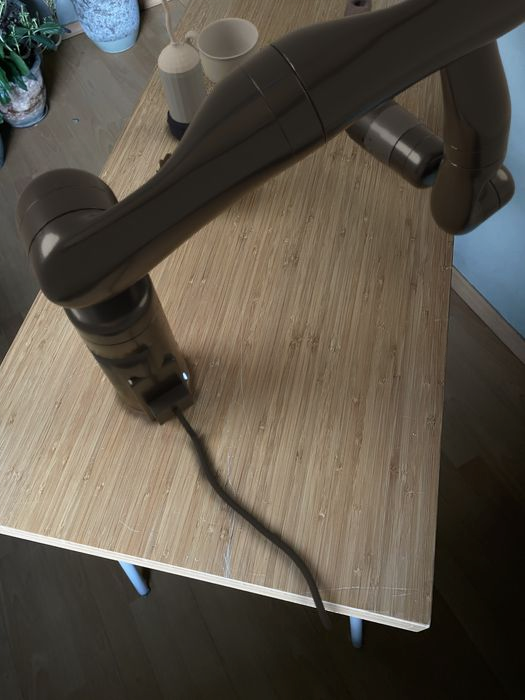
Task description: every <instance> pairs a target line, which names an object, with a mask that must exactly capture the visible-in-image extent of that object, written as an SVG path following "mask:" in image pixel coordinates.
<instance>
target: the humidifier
mask: <svg viewBox="0 0 525 700" xmlns="http://www.w3.org/2000/svg"><path fill="white" fill-rule="evenodd" d="M160 1H161V4H162V7H163V9H164V11H165V12H164V13H165V26H166V31H167V33H168V37H169V39H170V43H169V44H167V46H165V47H164V48H163V49H162V50H161V52H160V54H159V56H158V59H157V66H158V72H159V77H160V80H161V84H162V88H163V91H164V92H163V93H164V97H165V100H166V104H167V108H168V110H167V112H166V122H167V124H168V128H169V131H170V134H171V135H172V137H173V138H175V139H176V140H177V141H181V139H182V137H183V135H184V133H185V132H186V130H187V128H188V126H189V124H190V123H191V121H192V119H193V117H194V116H195V114H196V112H197V111H198V109H199V108H200V106H201V104H202V103H203V101H204V100H205V98H206V97H207V95H208V93H207V87H206V81H205V76H204V69H203V66H202V62H201V60H200V57H199V54H198V53H197V51H196V50H195V49H194V48H193V47H192V46H190V45H189V44H186V43H185V32H184V27H183V20H182V19H183V18H182V17H183V14H182V10H181V9H180V7H179V5H178V1H177V0H175V5H176V7H177V8H178V10H179V13H180V23H181V30H182V34H183V41H179V39H178V38H177V35H176V33H175V29H174V27H173V20H172V19H173V18H172V16H173V15H172V14H173V13H172V9H171V6H170V4H169V2H168V0H160Z"/></svg>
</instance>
